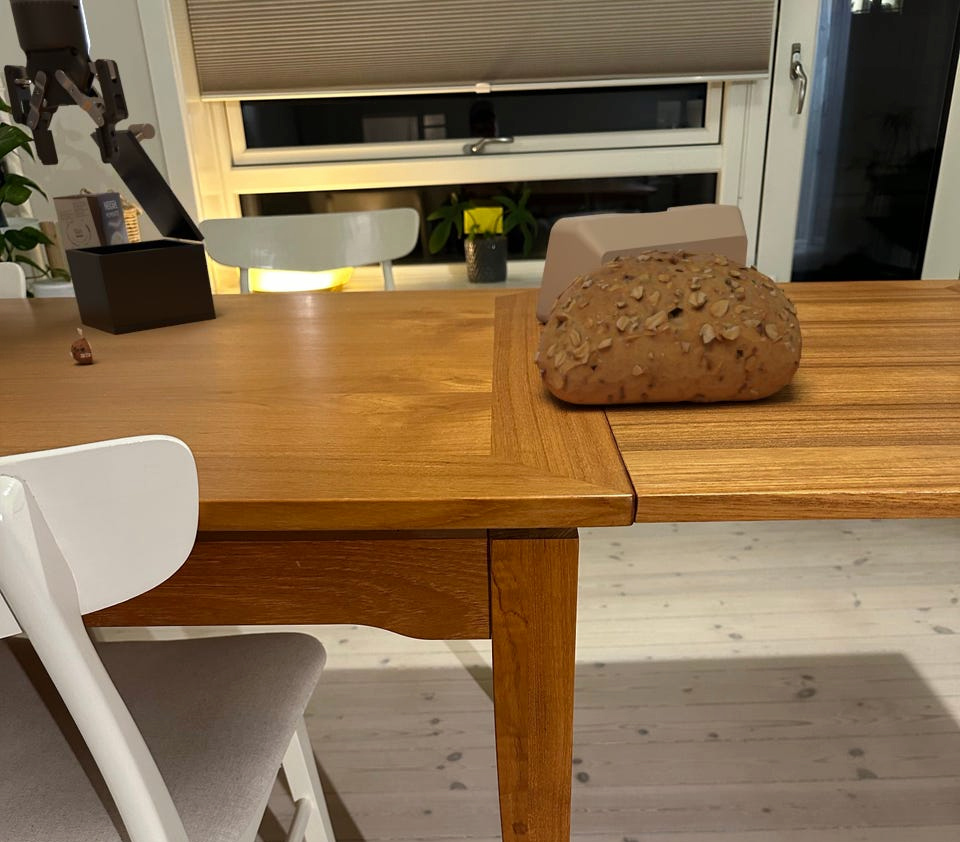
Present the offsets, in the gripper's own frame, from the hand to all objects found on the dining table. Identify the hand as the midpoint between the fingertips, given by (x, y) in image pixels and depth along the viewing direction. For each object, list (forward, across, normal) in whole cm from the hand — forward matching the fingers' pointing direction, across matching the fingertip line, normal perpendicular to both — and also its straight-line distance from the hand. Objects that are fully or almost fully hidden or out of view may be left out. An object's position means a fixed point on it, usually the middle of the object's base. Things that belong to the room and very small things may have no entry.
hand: (80, 164), depth 114 cm
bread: (+20, +71, -14) cm, 76 cm away
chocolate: (+21, +5, -13) cm, 25 cm away
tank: (+20, +66, +18) cm, 72 cm away
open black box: (+20, -4, +13) cm, 24 cm away
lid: (+4, -2, +15) cm, 16 cm away
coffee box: (+21, -16, +20) cm, 33 cm away
